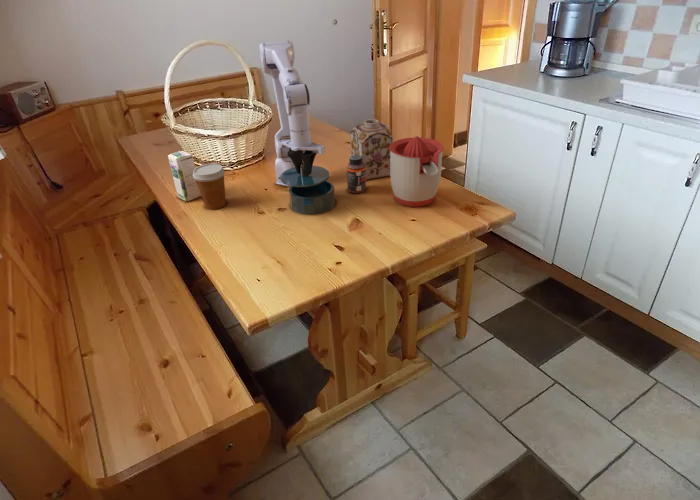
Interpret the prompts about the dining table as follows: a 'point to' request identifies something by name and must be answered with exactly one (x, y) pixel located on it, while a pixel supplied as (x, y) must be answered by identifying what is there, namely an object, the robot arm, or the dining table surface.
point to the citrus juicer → (415, 170)
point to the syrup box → (184, 175)
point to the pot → (312, 198)
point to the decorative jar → (372, 147)
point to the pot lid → (304, 176)
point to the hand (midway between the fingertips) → (304, 173)
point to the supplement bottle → (356, 174)
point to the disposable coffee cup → (211, 184)
